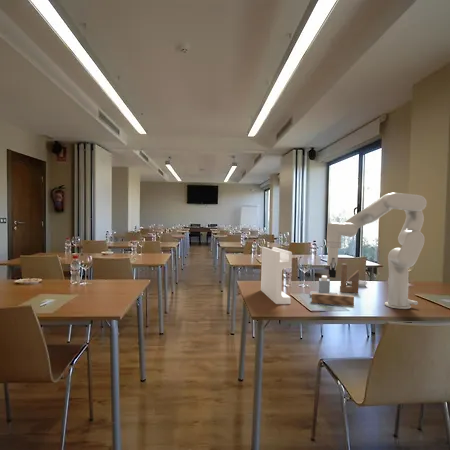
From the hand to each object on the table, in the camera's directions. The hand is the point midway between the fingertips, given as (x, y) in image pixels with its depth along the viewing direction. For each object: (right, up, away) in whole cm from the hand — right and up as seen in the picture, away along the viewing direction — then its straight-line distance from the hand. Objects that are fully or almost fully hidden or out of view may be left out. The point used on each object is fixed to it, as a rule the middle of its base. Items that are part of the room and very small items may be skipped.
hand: (332, 276), depth 188 cm
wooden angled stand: (+21, -15, +31) cm, 40 cm away
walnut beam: (0, -15, 0) cm, 15 cm away
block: (-30, -14, +13) cm, 36 cm away
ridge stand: (0, -15, +17) cm, 22 cm away
